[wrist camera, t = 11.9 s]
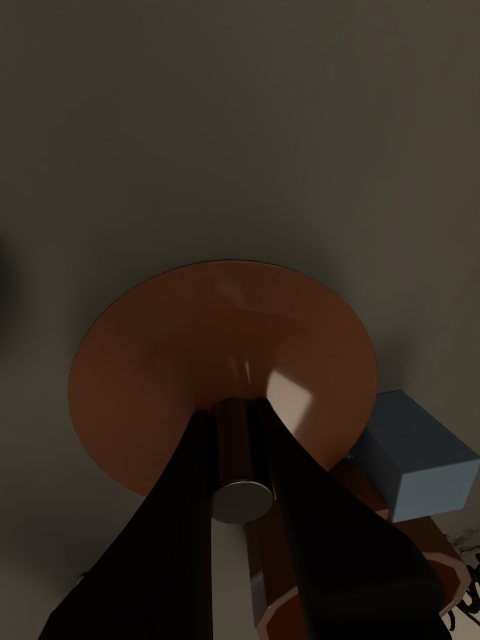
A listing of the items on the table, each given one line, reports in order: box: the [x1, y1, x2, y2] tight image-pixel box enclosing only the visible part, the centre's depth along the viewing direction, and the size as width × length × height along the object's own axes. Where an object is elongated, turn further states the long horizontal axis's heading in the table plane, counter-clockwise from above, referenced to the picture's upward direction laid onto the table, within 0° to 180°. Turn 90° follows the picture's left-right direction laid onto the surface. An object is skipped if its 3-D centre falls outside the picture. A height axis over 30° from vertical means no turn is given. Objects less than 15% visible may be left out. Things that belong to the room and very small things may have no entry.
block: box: [349, 390, 480, 523], centre depth 13 cm, size 4×4×5 cm
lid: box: [68, 259, 378, 524], centre depth 10 cm, size 15×15×5 cm
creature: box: [444, 535, 480, 631], centre depth 22 cm, size 8×5×8 cm
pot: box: [246, 459, 472, 640], centre depth 17 cm, size 14×20×6 cm
